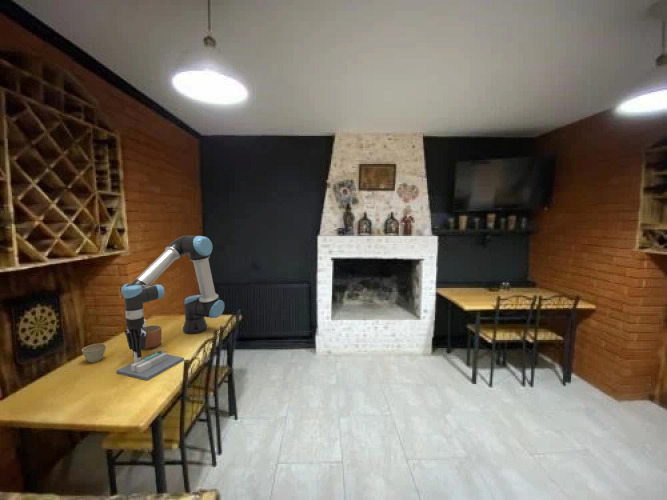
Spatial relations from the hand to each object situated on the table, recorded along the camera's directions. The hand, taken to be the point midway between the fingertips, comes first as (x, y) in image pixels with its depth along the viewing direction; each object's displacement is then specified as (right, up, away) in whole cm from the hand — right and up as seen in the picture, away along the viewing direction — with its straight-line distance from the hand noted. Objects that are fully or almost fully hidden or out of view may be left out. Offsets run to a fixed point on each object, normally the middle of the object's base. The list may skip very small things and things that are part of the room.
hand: (138, 363), depth 158 cm
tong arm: (+4, -1, +2) cm, 4 cm away
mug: (-22, +1, +36) cm, 42 cm away
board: (+5, -3, +3) cm, 6 cm away
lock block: (+3, 0, +13) cm, 13 cm away
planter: (-9, 0, +27) cm, 28 cm away
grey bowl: (-28, -2, +9) cm, 30 cm away
